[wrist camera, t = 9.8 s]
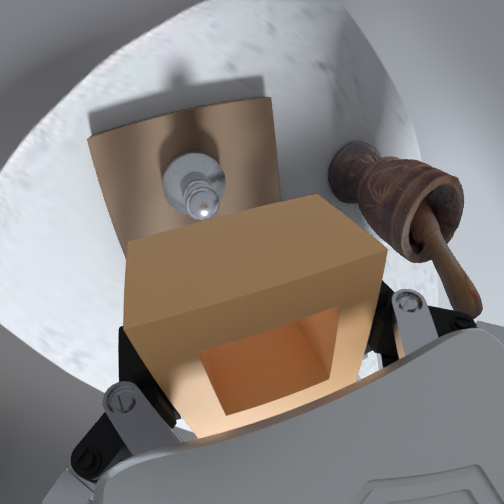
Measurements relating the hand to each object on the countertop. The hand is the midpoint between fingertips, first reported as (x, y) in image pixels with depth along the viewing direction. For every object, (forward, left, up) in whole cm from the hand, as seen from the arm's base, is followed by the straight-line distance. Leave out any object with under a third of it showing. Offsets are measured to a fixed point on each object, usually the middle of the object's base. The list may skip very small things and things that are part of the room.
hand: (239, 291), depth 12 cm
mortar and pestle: (-19, +5, -19) cm, 27 cm away
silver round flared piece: (0, 0, -16) cm, 16 cm away
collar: (0, 0, 0) cm, 0 cm away
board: (0, +7, -18) cm, 20 cm away
